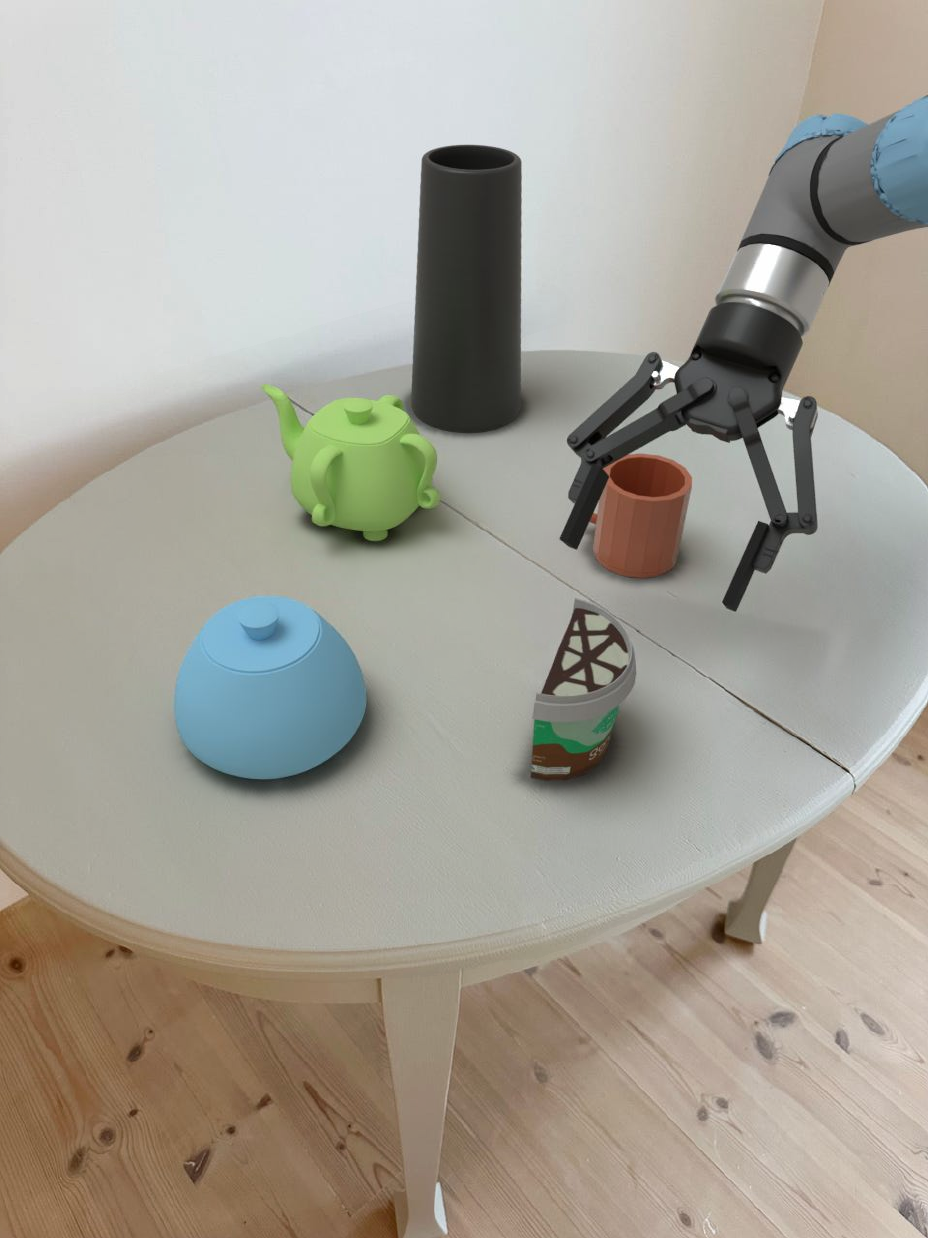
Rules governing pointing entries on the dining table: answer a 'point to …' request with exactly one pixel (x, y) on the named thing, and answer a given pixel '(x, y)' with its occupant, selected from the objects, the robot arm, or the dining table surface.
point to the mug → (641, 515)
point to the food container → (582, 694)
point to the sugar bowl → (268, 690)
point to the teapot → (358, 463)
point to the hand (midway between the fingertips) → (645, 575)
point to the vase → (468, 289)
